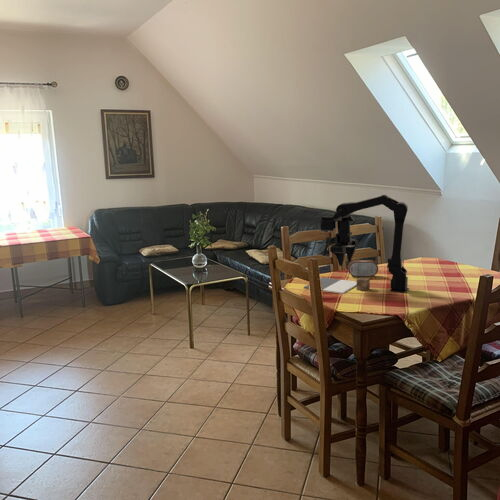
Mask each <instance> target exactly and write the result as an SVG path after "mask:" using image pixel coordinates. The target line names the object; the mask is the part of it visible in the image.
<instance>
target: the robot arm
mask: <svg viewBox="0 0 500 500" xmlns="http://www.w3.org/2000/svg"><path fill="white" fill-rule="evenodd" d="M381 205H383V206H384V207H386V208H387V209H389V210H390V211H392V212H393V219H394V231H393V232H394V233H393V243H392V255H391V256H390V255H388V258H387V266H386V269H388V270H387V271H388V272H389V273H390V275H392V276H391V279H390V289H389V290H390V291H391V292H398V293H406V292H407V291H408V290H409V287H408V280H409V276H407V273H408V270H407V269H406V268H405V267H404V266H403V258H402V246H403V235H404V233H403V232H404V226H405V225H404V224H405V221H406V217H407V213H408V210H409V207H408V205H407V204H406V203H405V202H403V201H397V200H396V199H394V198H391V197H390V196H388V195H387V194H381V195H379V196H375V197H370V198H367V199H364V200H360V201H354V202H343V203H340V204H338V205H337V206H336V209H335V213H334V214H333V216H325V215H323V216H321V221H320V231H321V232H334V231H335V230H336V229H337V233H335V236H334V237H331V236H328V237H326V238H325V240H324V241H325V244H326V245H327V246H328V247H329V252H330V253H331V254H334V255H335V257H336V259H337V262H338V265H339V267H343V264H344V262H345V261H344V260H345V257H347V258H346V259H347V262H349V263H350V262H351V261H352V260H353V257H354V254H355V252H356V250H357V249H358V246H359V240H358V239H355V238H352V237H351V235H353V232H351V222H353V221H355V218H354V217H352V215H351V214H353V213H355V212H357V211H360V210H365V209H369V208H373V207H377V206H381ZM347 216H348V217H347ZM339 218H341V219H339Z"/></svg>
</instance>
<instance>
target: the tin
mask: <svg viewBox="0 0 500 500" xmlns="http://www.w3.org/2000/svg"><path fill="white" fill-rule="evenodd" d="M347 272H348V274H350V275H351V276H352V277H355V278H360V277H362V278H371V277H374V276H376V275H377V274H378V272H379V266H378V264H377V262H376V261H375V260H372V259H354V260H351V261H350V262H349V263H348V265H347Z"/></svg>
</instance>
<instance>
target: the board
mask: <svg viewBox="0 0 500 500" xmlns="http://www.w3.org/2000/svg"><path fill="white" fill-rule="evenodd" d="M319 279H320V281H321V289H322V291H321V292H328V293H335V294H341V295H343V294H346V293H347V292H348V291H350V290H351V289H353V288H355V287H357V281H354V280H348V279H347V280H346V279H338V278H331V277H321V278H319ZM303 289H306V290H310V289H309V284H307V285H305V286H303Z"/></svg>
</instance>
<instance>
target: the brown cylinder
mask: <svg viewBox="0 0 500 500" xmlns="http://www.w3.org/2000/svg"><path fill="white" fill-rule="evenodd" d="M370 278H371V277H357V278H356V282H357V286H356V291H361V292H367V291H369V290H371V289H370V285H371V282H370Z"/></svg>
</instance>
